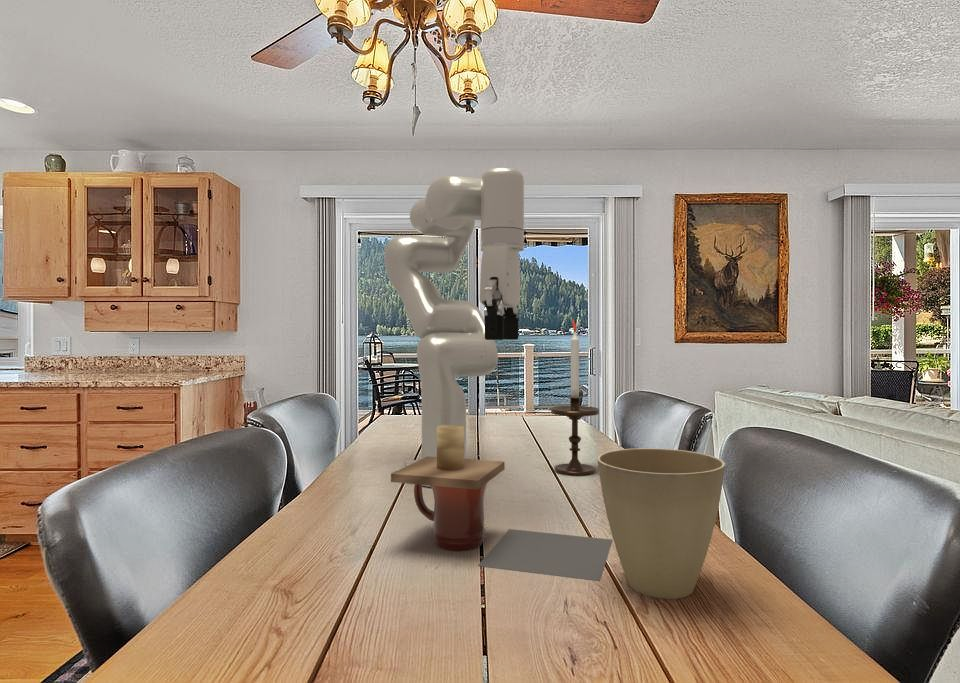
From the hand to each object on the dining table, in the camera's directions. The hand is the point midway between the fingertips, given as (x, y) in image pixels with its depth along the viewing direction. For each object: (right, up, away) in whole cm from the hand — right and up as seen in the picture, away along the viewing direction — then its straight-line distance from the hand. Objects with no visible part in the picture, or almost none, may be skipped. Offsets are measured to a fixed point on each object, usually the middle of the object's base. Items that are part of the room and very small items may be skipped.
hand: (502, 339), depth 106 cm
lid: (-8, -20, -16) cm, 27 cm away
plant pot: (+18, -31, -32) cm, 48 cm away
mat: (+6, -31, -21) cm, 37 cm away
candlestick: (+18, -30, +32) cm, 48 cm away
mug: (-8, -31, -16) cm, 36 cm away
